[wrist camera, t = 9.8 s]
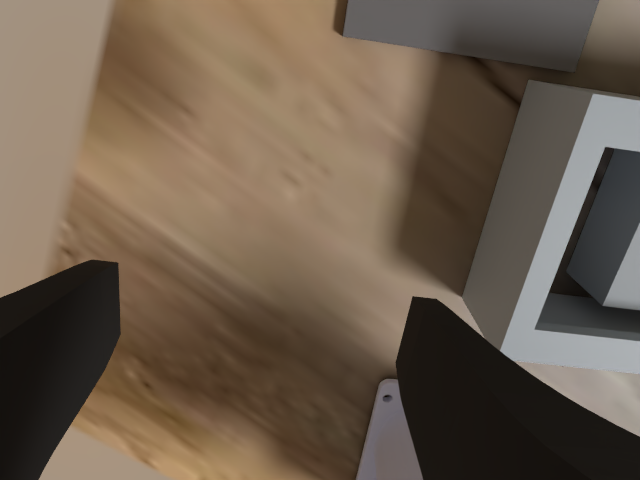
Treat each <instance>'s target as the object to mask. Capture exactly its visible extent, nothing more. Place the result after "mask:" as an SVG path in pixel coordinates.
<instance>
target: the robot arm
mask: <svg viewBox="0 0 640 480" xmlns="http://www.w3.org/2000/svg"><path fill="white" fill-rule="evenodd" d="M119 336H120V302H119V271H118V263H117V262H108V261H99V260H90V261H86V262H83V263H81V264H78V265H76V266H73V267H71V268H69V269H66V270H64V271H62V272H59V273H57V274H55V275H53V276H50V277H48V278H46V279H44V280H41V281H39V282H37V283H35V284H32V285H30V286H28V287H26V288H23V289H21V290H19V291H16V292H14V293H11V294H9V295H6V296H4V297H1V298H0V480H38V479H39V478H40V475H41V474H42V472H43V470H44V468H45V466H46V464H47V463H48V461H49V459H50V457H51V455H52V454H53V452H54V450H55V449H56V447H57V445H58V444H59V442H60V441H61V439H62V437H63V436H64V434H65V433H66V431H67V430H68V428H69V426H70V425H71V423H72V422H73V420H74V418H75V417H76V415H77V414H78V412H79V411H80V409H81V407H82V406H83V404H84V403H85V401H86V399H87V398H88V396H89V395H90V393H91V391H92V390H93V388H94V387H95V385H96V383H97V382H98V380H99V378H100V377H101V375H102V373H103V372H104V370H105V368H106V366H107V364H108V362H109V360H110V357H111V355H112V353H113V351H114V348H115V346H116V344H117V341H118V339H119ZM396 369H397V377H398V379H385V380H383V381H382V382H380V384H379V387H378V391H377V395H376V399H375V403H374V407H373V411H372V415H371V420H370V424H369V428H368V432H367V436H366V440H365V444H364V448H363V452H362V456H361V460H360V464H359V469H358V473H357V477H356V480H640V437H639V436H637V435H635V434H633V433H631V432H629V431H627V430H625V429H623V428H621V427H619V426H617V425H615V424H613V423H611V422H609V421H608V420H606V419H604V418H602V417H600V416H598V415H597V414H595V413H593V412H591V411H589V410H587V409H586V408H584V407H582V406H580V405H579V404H577V403H575V402H573V401H572V400H570V399H568V398H567V397H565V396H564V395H562V394H560V393H559V392H557V391H556V390H554V389H553V388H551V387H550V386H548V385H546V384H545V383H543V382H542V381H540V380H539V379H537V378H536V377H534V376H533V375H531V374H530V373H529V372H527V371H526V370H524V369H523V368H522V367H520V366H519V365H518V364H516V363H515V362H514V361H512V360H511V359H510V358H508V357H507V356H506V355H504V354H503V353H502V352H501V351H499V350H498V349H497V348H496V347H494V346H493V345H492V344H491V343H489V342H488V341H487V340H486V339H485V338H483V337H482V336H481V335H480V334H479V333H477V332H476V331H475V330H474V329H473V328H472V327H470V326H469V325H468V324H467V323H466V322H464V321H463V320H462V319H461V318H460V317H459V316H457V315H456V314H455V313H454V312H453V311H452V310H450V309H449V308H448V307H447V306H445V305H444V304H443V303H441V302H440V301H439V300H437V299H431V298H423V297H414V296H413V297H412V301H411V305H410V309H409V313H408V317H407V321H406V324H405V328H404V332H403V336H402V340H401V344H400V348H399V352H398V356H397V360H396ZM385 395H390V396H389V397H383V396H385Z"/></svg>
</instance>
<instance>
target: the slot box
mask: <svg viewBox="0 0 640 480" xmlns="http://www.w3.org/2000/svg"><path fill="white" fill-rule="evenodd" d="M605 147H610V148H615V150H614V152H613V155H612V157H611V160H610V162H609V165H608V167H607V170H606V172H605V175H604V177H603V180H602V182H601V185H600V187H599V190H598V192H597V195H596V197H595V200H594V202H593V205H592V207H591V210H590V212H589V215H588V217H587V220H586V222H585V225H584V228H583V230H582V233H581V235H580V238H579V240H578V243H577V245H576V248H575V250H574V253H573V255H572V258H571V260H570V263H569V265H568V268H567V270H566V272H567V273H568V274H569V275H570V276H571V277H572V278H573V279H574V280H575V281H576V282H577V283H578V284H580V285H581V286H582V287H583V288H584V289H585V290H586V291H587V292H588V293H589V294H590V295H591V296H592V297H593V298H588V297H580V296H571V295H563V294H554V293H549V290H550V288H551V285H552V282H553V280H554V277H555V275H556V272H557V270H558V267H559V264H560V262H561V259H562V257H563V254H564V252H565V249H566V246H567V244H568V241H569V239H570V236H571V234H572V231H573V229H574V226H575V223H576V221H577V218H578V216H579V213H580V211H581V208H582V205H583V203H584V200H585V198H586V195H587V193H588V190H589V187H590V185H591V182H592V180H593V177H594V175H595V172H596V169H597V167H598V164H599V162H600V159H601V157H602V154H603V151H604V149H605ZM462 299H463V301H464V302H465V304H466V306H467V308H468V309H469V311H470V313H471V315H472V316H473V318H474V320H475V322H476V323H477V325H478V327H479V328H480V330H481V332H482V334H483V335H484V337H485V339H486V340H487V341H488V342H489V343H491V344H492V345H493V346H494V347H496V348H497V349H498V350H499V351H501V352H502V353H503V354H504V355H506V356H507V357H508V358H510V359H511V360H512V361H521V362H530V363H540V364H549V365H559V366H568V367H578V368H587V369H597V370H606V371H616V372H625V373H635V374H640V97H639V96H632V95H626V94H619V93H613V92H606V91H600V90H593V89H587V88H580V87H574V86H567V85H561V84H555V83H548V82H542V81H535V80H529V79H528V83H527V86H526V89H525V92H524V96H523V99H522V102H521V106H520V109H519V112H518V115H517V119H516V122H515V125H514V128H513V132H512V135H511V138H510V142H509V145H508V148H507V151H506V155H505V158H504V161H503V164H502V168H501V171H500V174H499V178H498V181H497V184H496V187H495V191H494V194H493V197H492V200H491V204H490V207H489V210H488V214H487V217H486V220H485V223H484V227H483V230H482V233H481V236H480V240H479V243H478V246H477V250H476V253H475V256H474V259H473V263H472V266H471V269H470V272H469V276H468V279H467V282H466V286H465V289H464V292H463V295H462Z"/></svg>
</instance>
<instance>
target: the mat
mask: <svg viewBox="0 0 640 480" xmlns="http://www.w3.org/2000/svg"><path fill="white" fill-rule="evenodd" d="M598 2H599V0H348V2H347V8H346V15H345V22H344V28H343V35H342V36H344V37H350V38H357V39H363V40H370V41H376V42H382V43H389V44H395V45H401V46H408V47H414V48H421V49H427V50H433V51H440V52H446V53H452V54H459V55H465V56H472V57H478V58H484V59H491V60H497V61H503V62H510V63H516V64H523V65H529V66H535V67H542V68H548V69H554V70H561V71H567V72H575V70H576V67H577V64H578V61H579V58H580V55H581V52H582V49H583V46H584V43H585V40H586V37H587V34H588V31H589V28H590V26H591V23H592V20H593V17H594V14H595V11H596V8H597V5H598Z"/></svg>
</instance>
